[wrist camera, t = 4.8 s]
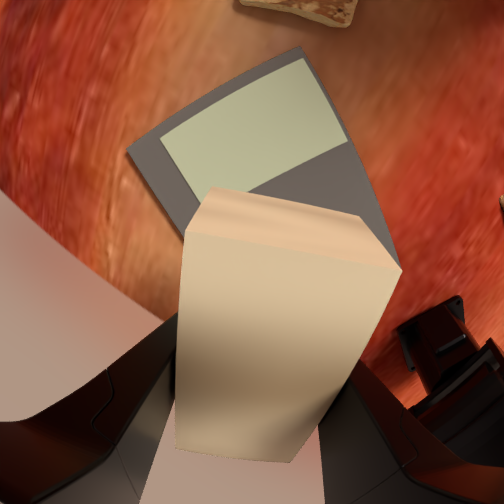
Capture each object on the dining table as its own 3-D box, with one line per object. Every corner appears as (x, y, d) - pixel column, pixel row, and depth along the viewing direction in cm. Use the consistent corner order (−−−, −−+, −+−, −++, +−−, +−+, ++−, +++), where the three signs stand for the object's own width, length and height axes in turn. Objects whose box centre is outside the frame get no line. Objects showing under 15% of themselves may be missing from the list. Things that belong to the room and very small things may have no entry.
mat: (398, 264, 20) (401, 269, 20) (253, 329, 23) (253, 335, 23) (298, 47, 15) (300, 45, 14) (129, 147, 18) (125, 149, 17)
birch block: (286, 400, 11) (289, 462, 9) (189, 385, 11) (175, 448, 9) (358, 216, 8) (402, 271, 5) (212, 185, 8) (185, 230, 5)
